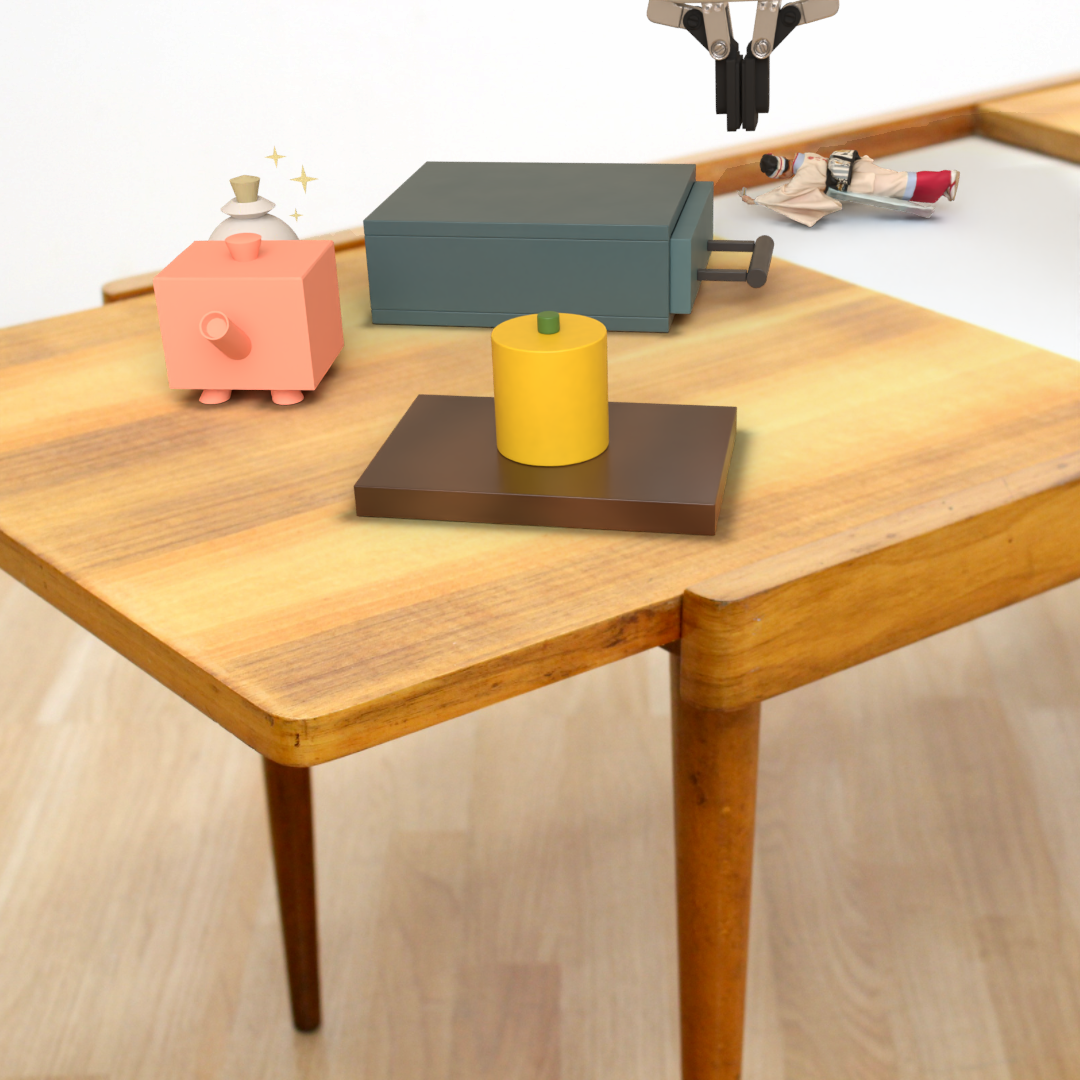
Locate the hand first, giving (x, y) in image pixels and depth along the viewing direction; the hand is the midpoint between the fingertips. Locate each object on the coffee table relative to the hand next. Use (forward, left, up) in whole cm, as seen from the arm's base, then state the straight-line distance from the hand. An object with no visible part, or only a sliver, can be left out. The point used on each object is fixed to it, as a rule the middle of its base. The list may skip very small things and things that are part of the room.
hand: (742, 126), depth 90 cm
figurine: (-6, -20, -11) cm, 23 cm away
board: (+6, +27, -10) cm, 29 cm away
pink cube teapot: (+24, +18, -11) cm, 32 cm away
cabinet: (+12, 0, -10) cm, 16 cm away
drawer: (+9, 0, -9) cm, 13 cm away
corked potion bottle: (+28, +5, -11) cm, 31 cm away
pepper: (+6, +27, -9) cm, 29 cm away
